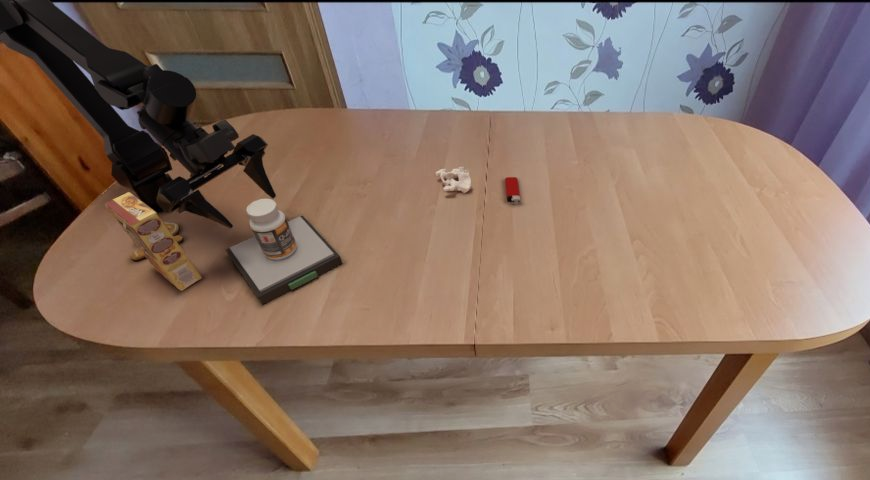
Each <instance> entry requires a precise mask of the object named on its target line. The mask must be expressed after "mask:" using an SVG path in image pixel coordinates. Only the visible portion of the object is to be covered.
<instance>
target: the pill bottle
mask: <svg viewBox="0 0 870 480" xmlns="http://www.w3.org/2000/svg"><path fill="white" fill-rule="evenodd" d="M246 213H247V216H248V218H249V227H250V229H251V231H252V234H253V235H254V237H256V239H257V241H258V243H259V245H260V247H261V249H262V251H263V253H264V255H265V256H266V257H267V258H269V259H273V260H279V259H284V258H286V257H288V256H290V255H291V254H293V253H294V251H295V250H296V246H297V245H296V241H295V239H294V236H293V234H292V231H291V229H290V226H289V224H288V222H289V221H288V220H287V217H286V215H285V213H284V212H283V211H281V210H280V209H279V207H278V204H277V202H276V201H275V200H273V199H272V198H259V199H255V200H254V201H252V202H251V203H249V204H248V205H247V207H246Z"/></svg>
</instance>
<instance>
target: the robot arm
mask: <svg viewBox="0 0 870 480" xmlns="http://www.w3.org/2000/svg"><path fill="white" fill-rule="evenodd" d="M0 42H2V43H3V44H4V45H5V47H7V48H8V49H10V50H11V51H12V50H13V51H14V52H16V53H19V54H20V55H23V56H24V57H27V58H28V59H31V60H32V61H33V62H34V63H35V64H36V65H37V66H38V67H39V68H40V69H41V70H42V72H43V73H44V74H45V75H46V76H47V77H48V78H49V80H50V81H51V82H52V83H53V85H55V86H56V87H57V89H58V90H60V92H61V93H62V94H63V95H64V96H65V98H66V99H67V100H68V101H69V103H71V104H72V105H73V107H75V109H77V111H78V112H79V113H80V114H81V115H82V116H83V118H85V120H86V121H87V122H88V123H89V124H90V126H91V127H92V128H93V129H94V130H95V131H96V132H97V133H98V135H100V136H101V138H102V139H103V146H104V152H105V156H106V158H108V160H109V161H110V162H111V173H110V174H111V176H112V178H113V179H114V180H115V181H116V182H117V183H118V184H119V185H120V186H121V187H124V188H126V189H127V190H130V191H133V192H134V193H135V194H136V197H137V198H138V199H139V200H141V201H142V202H144V203H145V204H146V205H148V206H149V207H150V208H152V209H153V210H154V211H155V212H157V213H159V212H161V211H164V212H165V213H166V214H167V215H168V214H171V213H173V212H174V211H177V213H178V214H182V213H184V212H187V213H190V214H193V215H196V216H199V217H202V218H205V219H207V220H209V221H211V222H214V223H216V224H218V225H221V226H223V227H225V228H227V229H232V228H233V227H234V224H233V223H232V222H231V221H230V220H229V219H228V218H227V217H226V216H225V215H224V214H222V212H220V211H219V210H218V209H217V208H216V207H214V206H213V204H211V203H210V202H209V201H208V200H207V199H206V198H205V197H204V195H203V194H202V192H201V191H200V188H201V187H202V186H205V185H206V184H207V183H209V182H211V181H213V180H214V179H216V178H218V177H219V176H221V175H223V174H224V173H226V172H227V171H229V170H231V169H233V168H234V167H236V166H237V165H238V166H244V169H243V170H242V171H243V172H244V173H245V175H247V176H248V177H249V178H250V179H251V180H252V181H253V182H254V183H255V184H256V185H257V186H258V187H259V188H260V189H261V190H262V191H263V192H264V193H265V194H266V195H267V196H269V197H270V199H272V200H273V199H275V198H276V197H277V194H276V192H275V190H274V188H273V185H272V183H271V181H270V179H269V177H268V174H267V173H266V170H265V166H264V162H263V158H264V156H265V154H266V152H265V151H266V149H267V147H268V145H269V144H268V143H267V142H266V141H265V140H264V138H263V137H262V136H260V135H256V134H254V133H253V134H251V135H249V136H247V137H245V138H243V139H242V140H240V141H238V142H236V145H234V143H233V141H235V140H237V139H239V138H240V136H239V133H238V132H237V130H236V129H235V127H234V126H233V125H232V124H231V123H229V122H228V120H227V119H222V120H219V121H217V122H216V123H214V124H212V125H211V127H212V129H213V131H212V132H210V133H208V132H207V130H206V129H205V128H202V126H199V127H197V126H196V125H195V124H194V123H193V122H192V121H191V120H190V117H191V115H192V111H193V108H194V105H195V101H196V98H197V89H196V88H195V87H196V86H195V85H194V84H193V82H192V81H191V80H190V79H189V78H188V77H187V76H186V77H185V76H184V75H183V74H181V73H178V72H177V71H173V70H169V69H168V70H167V69H162V68H161V66H159V64H157V63H154V64H151V65H148V64H145V63H144V62H143V61H141V60H140V59H138V58H137V57H135V56H134V55H132V54H131V53H129V52H127V51H123V50H119V49H115V48H111V47H109V46H107V45H106V44H105V43H104V42H102V41H101V40H99V39H98V38H96V36H94V35H93V34H92V33H90V32H89V31H88V30H87V29H85V28H84V27H83V26H82V25H81V24H80V23H78V22H77V21H75V20H74V19H73V18H71V17H70V16H69V15H68V14H66V13H65V12H64V10H62V9H60V8H59V7H58V6H57V5H55V4H54V2H53V0H0ZM81 69H82V70H81ZM83 70H84V71H85V72H86V73H87V74H88V75H90V78H91V80H90V79H89V78H88V76H87V75H86V74H85V73H84V72H83ZM141 104H142V106H141V107H140V109H139V110H138V111H136V114H137V116H138V117H137V118H138V119H137V120H138V125H139V126H140V128H141V129H142V130H139V129H136V128H134V127H132V126H130V125H128V124H127V122H126V121H125V120H124V119H123V117H122V116H121V115H120V114H119V113H118V112H117V110H115V108H116V109H119V110H121V111H124V110H129V109H131V108H134V107H137V106H138V105H141ZM114 107H115V108H114ZM145 130H146V131H145ZM147 131H148V132H149V133H148V132H147ZM150 134H151V135H150ZM152 136H153V137H152ZM153 138H154V139H155V140H156V141H157V142H159V143H157V142H155V140H154V139H153ZM167 151H168V152H167ZM231 151H232V152H231ZM229 152H231V153H230V154H228V153H229ZM168 153H169V155H168ZM227 154H228V155H227ZM226 155H227V156H226ZM169 157H170V158H171V159H172V160H173V162H176V161H178V162H179V164H181V166H183V168H185V170H187V172H189V173H190V174H189V178H187V179H186V178H184V177H182V176H180V175H179V176H177V177H175V178H172V176H171V175H170V173H168V172H170V171H173V167H172V166H173V165H172V162H171V160H170V158H169Z"/></svg>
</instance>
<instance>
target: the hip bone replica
mask: <svg viewBox="0 0 870 480" xmlns="http://www.w3.org/2000/svg"><path fill="white" fill-rule="evenodd" d="M446 171H447V169H446V168H441V169H439V170H437V171H435V175H436V177H440V179H441V182H442V183H443V185H444V187H443V188H442V190H443V192H444V193H445V192H453V191H457V192H459V191H460V192H462V193H463V194H466V193H467V192H469V191H470V189H471V188H472V179H471V177H470V172H469V169H466V168H465V167H463V166H459V167H457V168H452V170H450V171H448V172H446ZM444 178H445V179H444ZM454 178H455V179H457V178H458V181H457V180H455V179H454Z"/></svg>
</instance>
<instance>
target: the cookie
mask: <svg viewBox="0 0 870 480" xmlns="http://www.w3.org/2000/svg"><path fill="white" fill-rule="evenodd" d="M164 224H165V225H166V227H167V228H168V230H169V231H170V232H171V234H172V235H173V237H174V238H175V240H176V241H177V242H178V244H180V243H181V242H182V241H183V237H182V235H178V233H179V232H180V227H179V225H178V224H177V223H176V222H164ZM129 257H130V259H131V260H132V261H139V260H143V259H144V258H146V256H145V255H144V254H143V253H142V252H141V250H140V249H139V248H138V249H137V250H135V251H134V252H132V253H131V254H130V256H129Z"/></svg>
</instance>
